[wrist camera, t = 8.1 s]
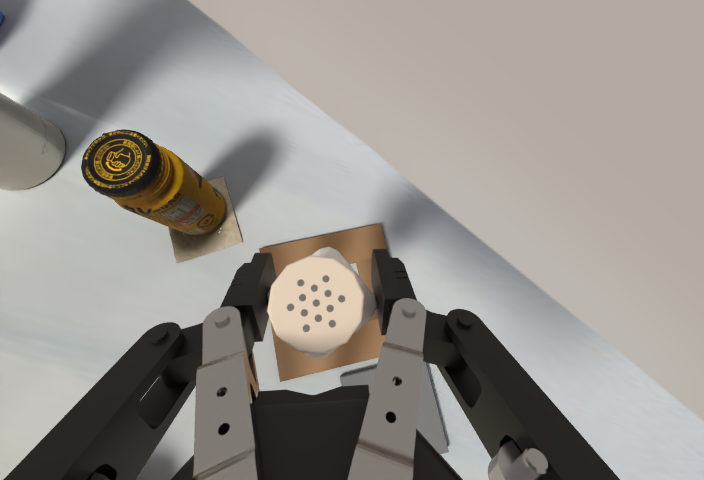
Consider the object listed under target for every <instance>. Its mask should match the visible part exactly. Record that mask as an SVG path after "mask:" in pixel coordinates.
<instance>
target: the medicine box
mask: <svg viewBox="0 0 704 480" xmlns="http://www.w3.org/2000/svg"><path fill="white" fill-rule="evenodd" d="M3 17H4V14H3V13H2V12H0V24H1V22H2V20H3Z"/></svg>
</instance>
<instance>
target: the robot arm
mask: <svg viewBox="0 0 704 480" xmlns="http://www.w3.org/2000/svg"><path fill="white" fill-rule="evenodd" d="M64 154H65V140H64V137H63V135H62V133H61V132H60V130H59V129H58V128H57V127H56V126H54V125H53V124H52V123H50V122H48V121H47V120H45V119H43V118H42V117H40V116H38V115H36V114H35V113H33V112H31V111H30V110H28V109H26V108H25V107H23V106H21V105H20V104H18V103H16V102H15V101H13V100H11V99H10V98H8V97H6V96H5V95H3V94H1V93H0V188H1V189H6V190H23V189H28V188H31V187H34V186H36V185H38V184H40V183H42V182H44V181H45V180H46V179H48V178H49V177H50V176H52V174H53V173H54V172H55V171H56V170H57V169H58V167H59V166H60V164H61V162H62V160H63V157H64ZM275 280H276V272H275V267H274V262H273V257H272V254H271V252H266V253H255V254H254V256H253V259H252V261H251V263H244V264H243V265H242V266H241V267H240V268H239V269H238V270H237V272H236V274H235V276H234V279H233V281H232V283H231V286H230V287H229V289H228V291H227V294H226V296H225V298H224V300H223V302H222V304H221V307H220V308H218V309H216V310H214V311H212V312H211V313H210V314H209V315H208V316H207V317H206V318H205V320H204V322H203V323H201V324H198V325H195V326H191V327H188V328H185V329H181V328H180V327H179V325H178V324H176V323H172V322H168V323H162V324H159V325H157V326H155V327H153V328H151V329H150V330H148V331H147V332H146V333H145V334H143V335H142V337H141V338H140V339H139V340H138V341H137V342H136V343H135V344H134V345H133V346H132V347H131V348H130V349H129V350H128V351H127V352H126V353H125V354H124V355H123V356H122V357H121V358H120V359H119V360H118V361H117V362H116V364H115V365H114V366H113V367H112V368H111V369H110V370H109V371H108V372H107V373H106V374H105V375H104V376H103V377H102V378H101V379H100V380H99V381H98V382H97V383H96V384H95V385H94V386H93V387H92V388H91V389H90V391H89V392H88V393H87V394H86V395H85V396H84V397H83V398H82V399H81V400H80V401H79V402H78V403H77V404H76V405H75V406H74V407H73V408H72V409H71V410H70V411H69V412H68V413H67V414H66V415H65V416H64V418H63V419H62V420H61V421H60V422H59V423H58V424H57V425H56V426H55V427H54V428H53V429H52V430H51V431H50V432H49V433H48V434H47V435H46V436H45V437H44V438H43V439H42V440H41V441H40V442H39V443H38V445H37V446H36V447H35V448H34V449H33V450H32V451H31V452H30V453H29V454H28V455H27V456H26V457H25V458H24V459H23V460H22V461H21V462H20V463H19V464H18V465H17V466H16V467H15V468H14V469H13V470H12V472H11V473H10V474H9V475H8V476H7V477H6V478H5V479H4V480H135V479H136V477H137V476H138V474H139V473H140V471H141V470H142V468H143V467H144V465H145V463H146V462H147V460H148V459H149V457H150V456H151V454H152V453H153V451H154V449H155V448H156V446H157V445H158V443H159V442H160V440H161V439H162V437H163V436H164V434H165V432H166V431H167V429H168V428H169V426H170V425H171V423H172V422H173V420H174V419H175V417H176V415H177V414H178V412H179V411H180V409H181V408H182V406H183V405H184V403H185V401H186V400H187V398H188V397H189V395H190V394H191V392H192V391H193V389H194V388H195V386H196V407H195V442H194V455H193V456H192V457H191V458H190V459H189V460H188V461H187V462H186V463H185V465H184V466H183V467H182V468H181V469H180V470H179V471H178V472H177V473H176V474H175V475H174V476H173V478H172V479H171V480H463V479H462V478H461V477H460V476H459V475H458V474H457V473H456V472H455V471H454V469H453V468H452V467H451V466H450V465H449V464H448V463H447V462H446V461H445V459H444V458H443V457H442V456H441V455H440V454H439V453H438V452H437V451H436V449H435V448H434V447H433V446H432V445H431V444H430V443H429V442H428V441H427V439H426V438H425V437H424V436H423V435H422V434H421V433H420V432H419V431H418V429H417V418H418V407H419V397H420V387H421V377H422V366H423V361H424V362H427V363H431V364H435V365H437V367H438V369H439V370H440V372H441V374H442V376H443V377H444V379H445V381H446V382H447V384H448V386H449V387H450V389H451V391H452V392H453V394H454V396H455V397H456V399H457V401H458V403H459V404H460V406H461V408H462V409H463V411H464V413H465V414H466V416H467V418H468V419H469V421H470V423H471V425H472V426H473V428H474V430H475V431H476V433H477V435H478V436H479V438H480V440H481V441H482V443H483V445H484V447H485V448H486V450H487V452H488V453H489V455H490V457H491V458H492V460H491V462H490V463H489V467H488V477H489V480H620V479H619V478H618V477H617V476H616V475H615V473H614V472H613V471H612V470H611V469H610V468H609V467H608V465H607V464H606V463H605V462H604V461H603V460H602V459H601V457H600V456H599V455H598V454H597V453H596V452H595V451H594V449H593V448H592V447H591V446H590V445H589V444H588V442H587V441H586V440H585V439H584V438H583V437H582V436H581V434H580V433H579V432H578V431H577V430H576V429H575V428H574V426H573V425H572V424H571V423H570V422H569V421H568V420H567V418H566V417H565V416H564V415H563V414H562V413H561V411H560V410H559V409H558V408H557V407H556V406H555V405H554V403H553V402H552V401H551V400H550V399H549V398H548V397H547V395H546V394H545V393H544V392H543V391H542V390H541V388H540V387H539V386H538V385H537V384H536V383H535V382H534V380H533V379H532V378H531V377H530V376H529V375H528V374H527V372H526V371H525V370H524V369H523V368H522V367H521V366H520V364H519V363H518V362H517V361H516V360H515V359H514V357H513V356H512V355H511V354H510V353H509V352H508V351H507V349H506V348H505V347H504V346H503V345H502V344H501V343H500V341H499V340H498V339H497V338H496V337H495V336H494V335H493V333H492V332H491V331H490V330H489V329H488V328H487V326H486V325H485V324H484V323H483V322H482V321H481V320H480V318H479V317H478V316H476V315H475V314H474V313H472V312H470V311H467V310H464V309H455V310H452V311H450V312H449V313H448V315H447V316H446V315H441V314H436V313H432V312H430V311H428V310H426V309H425V307H424V306H423V305H422V304H421V303H420V302H418V301H417V299H416V296H415V294H414V291H413V288H412V285H411V283H410V280H409V278H408V274H407V272H406V269H405V266H404V264H403V263H402V262H401V261H400V260H399V259H398V258H390V256H389V253H388V250H387V248H386V249H373V250H372V264H371V282H372V288H373V293H374V296H375V298H376V302H377V309H376V310H377V315H378V321H379V326H380V332H381V335H386V337H385V341H384V343H383V345H382V348H381V352H380V356H379V360H378V364H377V368H376V372H375V376H374V380H373V384H372V388H371V392H370V393H369V386H368V385H354V386H341V387H338V388H335V389H332V390H329V391H326V392H323V393H320V394H317V395H308V394H303V393H298V392H294V391H289V390H275V391H260V390H259V384H258V378H257V372H256V366H255V360H254V354H253V351H252V349H253V346H254V342H259V341H263V338H264V334H265V330H266V326H267V322H268V318H269V315H268V312H267V310H268V303H269V302H268V293H269V291H270V289H271V285H272V284H273V283H274V281H275ZM158 377H159V378H158ZM157 378H158V379H157ZM156 379H157V380H156ZM155 381H156V382H155ZM154 382H155V383H154ZM153 383H154V384H153ZM152 384H153V386H152ZM151 386H152V387H151ZM150 387H151V388H150ZM149 388H150V389H149ZM148 390H149V391H148ZM147 391H148V392H147ZM146 392H147V393H146ZM145 393H146V395H145ZM144 395H145V396H144ZM143 396H144V397H143ZM142 397H143V398H142ZM141 399H142V400H141ZM140 400H141V401H140Z"/></svg>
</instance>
